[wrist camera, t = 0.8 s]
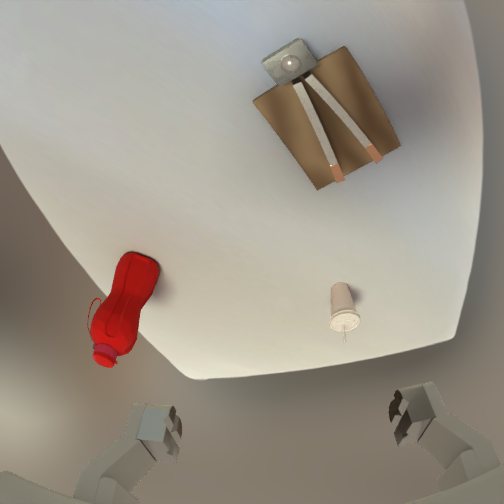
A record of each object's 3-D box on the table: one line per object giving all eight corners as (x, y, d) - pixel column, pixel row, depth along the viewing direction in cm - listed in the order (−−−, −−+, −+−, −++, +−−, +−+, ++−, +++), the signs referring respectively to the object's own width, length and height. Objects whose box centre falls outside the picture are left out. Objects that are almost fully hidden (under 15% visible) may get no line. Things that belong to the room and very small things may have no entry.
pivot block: (297, 37, 36) (301, 39, 31) (313, 59, 38) (319, 64, 33) (263, 59, 39) (261, 64, 34) (279, 80, 41) (279, 88, 36)
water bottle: (116, 243, 64) (68, 338, 45) (163, 260, 66) (127, 361, 47) (113, 270, 70) (73, 360, 51) (156, 286, 72) (124, 380, 53)
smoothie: (320, 284, 68) (326, 338, 57) (347, 273, 65) (357, 327, 55) (332, 301, 71) (338, 352, 61) (357, 291, 68) (367, 343, 58)
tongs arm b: (290, 80, 39) (292, 85, 36) (299, 77, 39) (301, 81, 36) (332, 170, 48) (336, 183, 45) (340, 168, 48) (344, 180, 45)
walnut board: (343, 46, 36) (345, 46, 35) (398, 142, 45) (401, 146, 44) (253, 100, 43) (252, 102, 42) (316, 185, 52) (317, 190, 51)
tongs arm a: (302, 75, 39) (304, 80, 36) (308, 69, 38) (311, 73, 35) (369, 152, 45) (376, 163, 42) (375, 147, 45) (383, 158, 42)
